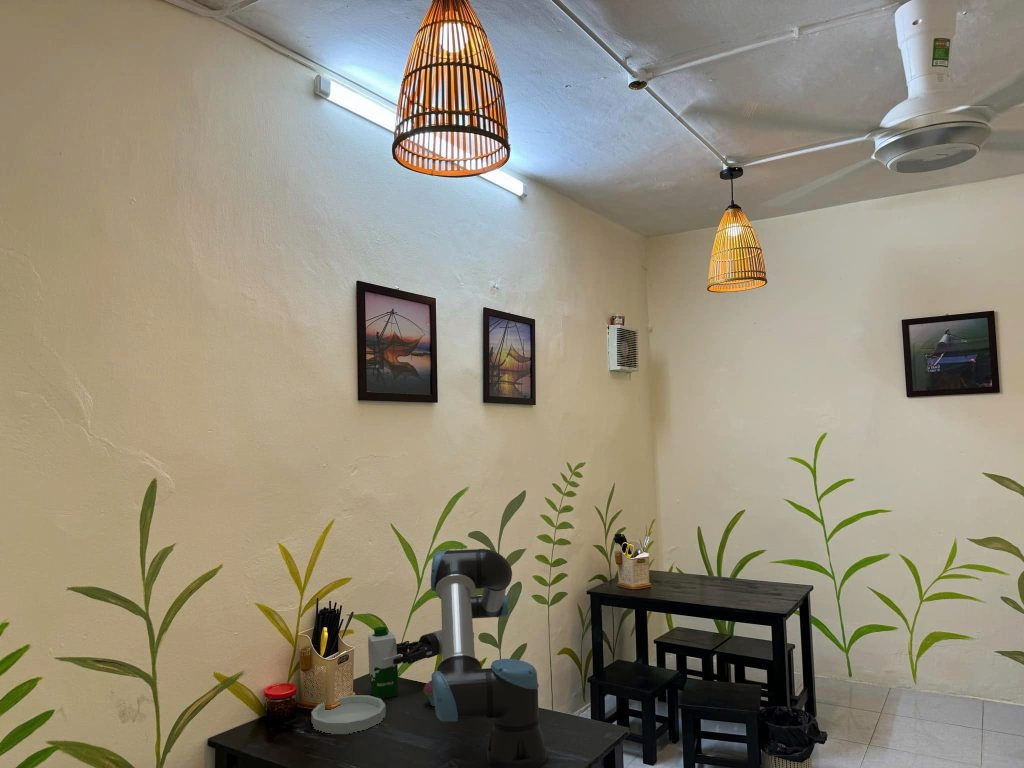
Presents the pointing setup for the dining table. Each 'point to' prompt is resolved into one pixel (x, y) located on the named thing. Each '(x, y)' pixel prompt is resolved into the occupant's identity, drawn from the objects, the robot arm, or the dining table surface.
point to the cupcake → (429, 692)
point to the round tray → (349, 715)
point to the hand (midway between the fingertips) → (376, 661)
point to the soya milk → (379, 649)
